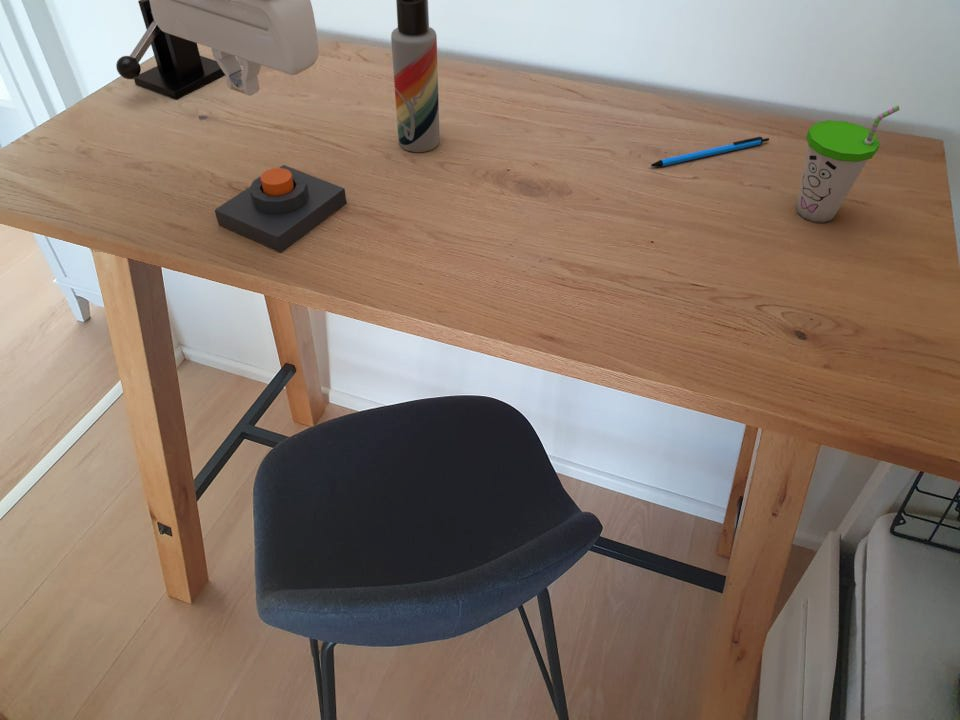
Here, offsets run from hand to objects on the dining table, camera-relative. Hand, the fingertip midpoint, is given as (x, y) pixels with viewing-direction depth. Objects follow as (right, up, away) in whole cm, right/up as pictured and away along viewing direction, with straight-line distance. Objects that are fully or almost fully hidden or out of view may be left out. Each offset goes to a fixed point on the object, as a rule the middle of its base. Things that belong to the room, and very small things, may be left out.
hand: (244, 90), depth 83 cm
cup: (+67, -11, +13) cm, 69 cm away
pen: (+57, -1, +22) cm, 61 cm away
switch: (-23, +17, +30) cm, 41 cm away
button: (+1, -9, +8) cm, 12 cm away
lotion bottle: (+17, +1, +23) cm, 29 cm away
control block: (+1, -11, +11) cm, 16 cm away
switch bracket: (-21, +15, +36) cm, 44 cm away
